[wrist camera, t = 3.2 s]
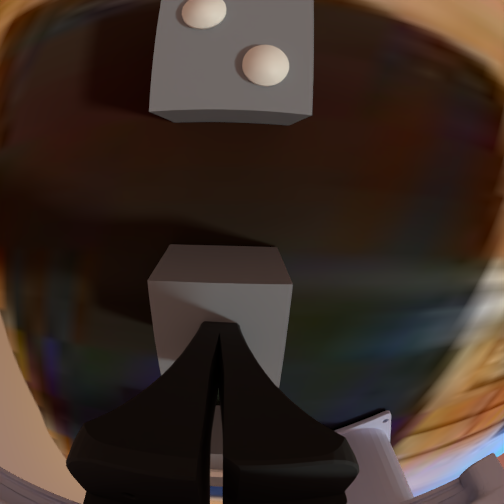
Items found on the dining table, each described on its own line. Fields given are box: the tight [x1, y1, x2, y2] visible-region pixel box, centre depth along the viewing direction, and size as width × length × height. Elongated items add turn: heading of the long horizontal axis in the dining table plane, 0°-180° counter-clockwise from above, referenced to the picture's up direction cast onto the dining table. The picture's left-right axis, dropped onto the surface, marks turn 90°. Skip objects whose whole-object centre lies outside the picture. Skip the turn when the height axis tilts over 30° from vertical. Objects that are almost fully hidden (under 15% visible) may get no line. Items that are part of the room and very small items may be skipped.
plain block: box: [147, 244, 293, 388], centre depth 13 cm, size 5×5×4 cm
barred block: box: [210, 405, 223, 486], centre depth 16 cm, size 5×5×4 cm
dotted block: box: [149, 0, 314, 125], centre depth 9 cm, size 5×5×4 cm
